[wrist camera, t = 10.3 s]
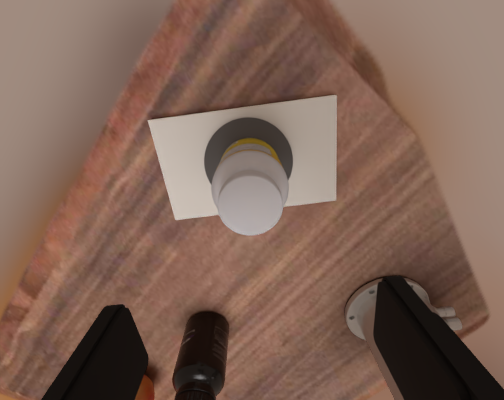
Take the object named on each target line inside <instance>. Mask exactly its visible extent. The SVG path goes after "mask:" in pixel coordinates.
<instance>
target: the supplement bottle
mask: <svg viewBox="0 0 504 400" xmlns="http://www.w3.org/2000/svg"><path fill="white" fill-rule="evenodd" d="M228 336H229V327H228V324H227V322H226V321H225V319H224V318H222V317H221V316H219V315H217V314H215V313H210V312H204V313H199V314H196V315H195V316H193V317H192V318H191V319H190V320H189V321H188V323H187V325H186V328H185V332H184V336H183V339H182V343H181V347H180V351H179V354H178V358H177V362H176V366H175V369H174V373H173V378H172V382H173V386H174V389H175V391H176V392H177V393H176V395H175V400H216V396H217V395H218V394H219V393H220V391H221V390H222V388H223V386H224V382H225V372H226V360H227V348H228Z"/></svg>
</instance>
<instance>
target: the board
mask: <svg viewBox="0 0 504 400" xmlns="http://www.w3.org/2000/svg"><path fill="white" fill-rule="evenodd" d="M246 117H251V118H258V119H262V120H265V121H267V122H269V123H271V124H273V125H274V126H275V127H277V128H278V129H279V130H280V131H281V132H282V133H283V134H284V136H285V137H286V139H287V140H288V142H289V145H290V147H291V150H292V155H293V167H292V172H291V176H290V178H289V180H288V183H289V192H288V198H287V201H286V203H285V205H284V207H287V206H295V205H303V204H311V203H320V202H328V201H336V150H337V95H328V96H321V97H313V98H306V99H299V100H291V101H284V102H276V103H269V104H262V105H254V106H247V107H239V108H232V109H225V110H217V111H210V112H203V113H195V114H188V115H180V116H173V117H166V118H158V119H151V120H148V123H149V126H150V130H151V133H152V137H153V141H154V144H155V148H156V152H157V155H158V159H159V162H160V166H161V170H162V173H163V177H164V180H165V184H166V188H167V191H168V195H169V199H170V202H171V206H172V209H173V213H174V217H175V220H180V219H188V218H196V217H205V216H213V215H219V213H218V209H217V207H216V205H215V203H214V201H213V197H212V192H211V184H210V182H209V180H208V178H207V175H206V172H205V167H204V156H205V151H206V147H207V145H208V142H209V140H210V139H211V137H212V136H213V135H214V133H215V132H216V131H217V130H218V129H219V128H220V127H222V126H223V125H224V124H226V123H228V122H230V121H232V120H235V119H239V118H246Z"/></svg>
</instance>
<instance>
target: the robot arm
mask: <svg viewBox="0 0 504 400" xmlns="http://www.w3.org/2000/svg"><path fill="white" fill-rule="evenodd" d="M345 320H346V323H347V325H348V327H349V329H350V330H351V332H352V333H353V334H354V335H355V336H357V337H359V338H361V339H363V340H366V341H367V343H368V346H369V348H370V350H371V352H372V354H373V356H374V358H375V360H376V362H377V364H378V366H379V368H380V370H381V373H382V375H383V377H384V379H385V381H386V383H387V385H388V387H389V389H390V391H391V393H392V395H393V397H394V400H504V389H503V388H502V387H501V386H500V385H499V383H498V382H497V381H496V380H495V379H494V378H493V376H492V375H491V374H490V373H489V372H488V371H487V369H485V367H484V366H483V365H482V364H481V363H480V361H479V360H478V359H477V358H476V357H475V356H474V355H473V353H472V352H471V351H470V350H469V349H468V348H467V346H466V345H465V344H464V343H463V342H462V341H461V339H460V338H459V337H458V336H457V335H456V334H455V333H454V330H461V329H462V323H461V321H460V320H459V318H458V317H456V316H455V310H454V308H453V307H452V306H444V307H439V308H436V307H434V306H432V305H431V304H430V300H429V296H428V294H427V293H426V291H425V290H424V289H423V288H422V287H421V286H420V285H419V284H418V283H416V282H415V281H413V280H410V279H408V278H403V277H402V276H400V275H399V276H390V277H383V278H381V279H377V280H374V281H372V282H370V283H368V284H366V285H364V286H362V287H361V288H360V289H359V290H357V291H356V292H355V293H354V294H353V295H352V296H351V298H350V299H349V301H348V303H347V305H346V308H345ZM147 365H148V354H147V351H146V349H145V347H144V344H143V342H142V339H141V337H140V334H139V332H138V330H137V327H136V325H135V322H134V320H133V317H132V315H131V313H130V310H129V309H128V308H125V306H124V305H123V304H119V305H110V306H106V307H104V308H103V310H102V311H101V313H100V314H99V315H98V317H97V318H96V320H95V321H94V323H93V324H92V326H91V327H90V329H89V330H88V332H87V333H86V335H85V336H84V338H83V339H82V340H81V342H80V343H79V345H78V346H77V348H76V349H75V351H74V352H73V354H72V355H71V357H70V358H69V360H68V361H67V363H66V364H65V365H64V367H63V368H62V370H61V371H60V373H59V374H58V376H57V377H56V379H55V380H54V382H53V383H52V385H51V386H50V388H49V389H48V390H47V392H46V393H45V395H44V396H43V398H42V399H41V400H135V398H136V395H137V392H138V390H139V387H140V384H141V382H142V379H143V376H144V373H145V371H146V368H147Z"/></svg>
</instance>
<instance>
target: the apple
mask: <svg viewBox="0 0 504 400" xmlns="http://www.w3.org/2000/svg"><path fill="white" fill-rule="evenodd" d="M135 400H154V386H153V383H152V381H151V380H150V378H148V377H147V376H146V375H145V374H144V376H143V379H142V382H141V384H140V387H139V390H138V392H137V395H136V398H135Z"/></svg>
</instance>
